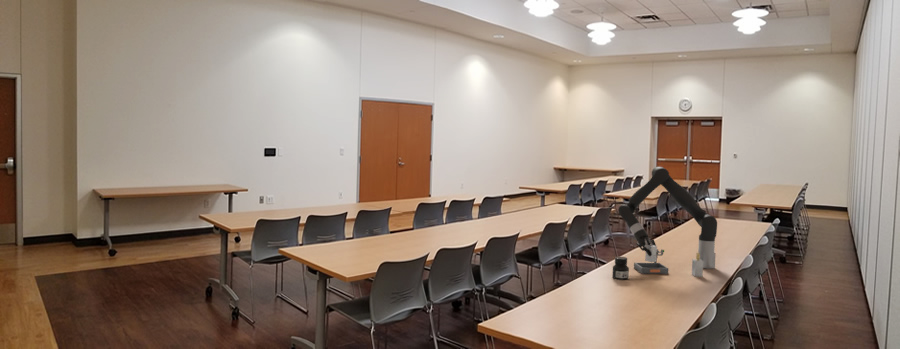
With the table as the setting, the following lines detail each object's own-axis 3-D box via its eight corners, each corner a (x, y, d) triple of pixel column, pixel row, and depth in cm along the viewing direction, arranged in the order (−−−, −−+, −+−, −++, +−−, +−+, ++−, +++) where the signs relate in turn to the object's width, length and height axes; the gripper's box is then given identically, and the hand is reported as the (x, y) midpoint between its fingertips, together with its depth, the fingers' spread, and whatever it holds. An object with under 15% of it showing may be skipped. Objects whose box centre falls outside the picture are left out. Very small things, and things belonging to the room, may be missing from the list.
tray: (659, 268, 353) (659, 262, 353) (668, 274, 339) (668, 268, 338) (633, 268, 353) (634, 262, 353) (641, 273, 339) (641, 268, 338)
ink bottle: (617, 280, 322) (617, 259, 321) (608, 276, 331) (609, 256, 330) (632, 279, 325) (632, 259, 324) (623, 275, 333) (624, 255, 333)
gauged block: (699, 274, 338) (700, 252, 337) (702, 276, 334) (703, 254, 333) (691, 274, 338) (692, 252, 337) (694, 276, 334) (696, 254, 333)
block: (650, 259, 349) (651, 244, 348) (656, 261, 345) (657, 245, 344) (645, 260, 346) (645, 245, 346) (651, 262, 343) (651, 246, 342)
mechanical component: (664, 265, 361) (664, 249, 361) (647, 265, 362) (648, 249, 361) (662, 264, 364) (663, 248, 364) (646, 264, 365) (647, 248, 364)
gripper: (634, 229, 347) (649, 252, 338) (650, 227, 354) (665, 250, 345) (627, 236, 352) (641, 259, 342) (643, 234, 359) (657, 257, 350)
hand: (653, 255), depth 344 cm, fingers closed on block, 4 cm apart
